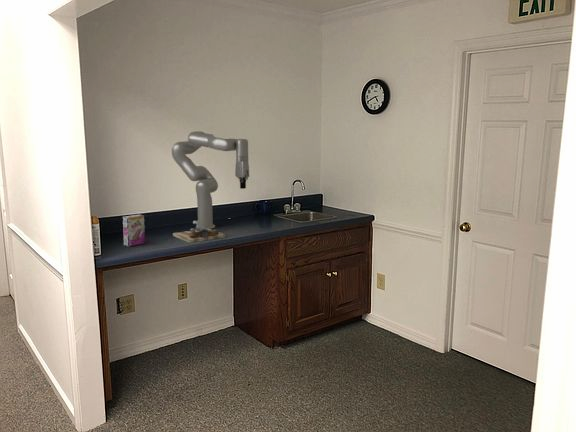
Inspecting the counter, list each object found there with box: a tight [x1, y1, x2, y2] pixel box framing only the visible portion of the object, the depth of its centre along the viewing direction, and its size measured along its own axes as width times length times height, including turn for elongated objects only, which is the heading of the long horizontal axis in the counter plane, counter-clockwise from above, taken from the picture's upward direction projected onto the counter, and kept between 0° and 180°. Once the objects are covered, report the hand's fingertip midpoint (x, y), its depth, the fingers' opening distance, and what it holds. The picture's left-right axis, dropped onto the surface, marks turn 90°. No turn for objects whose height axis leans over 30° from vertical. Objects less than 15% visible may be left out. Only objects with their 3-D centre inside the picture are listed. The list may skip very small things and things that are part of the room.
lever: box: [189, 227, 219, 238], centre depth 292 cm, size 18×4×5 cm, turn 126°
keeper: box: [195, 227, 208, 238], centre depth 291 cm, size 4×9×5 cm, turn 37°
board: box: [172, 229, 227, 243], centre depth 298 cm, size 24×22×2 cm
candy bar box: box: [122, 214, 146, 247], centre depth 276 cm, size 11×5×16 cm, turn 141°
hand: (243, 188), depth 309 cm, fingers closed
